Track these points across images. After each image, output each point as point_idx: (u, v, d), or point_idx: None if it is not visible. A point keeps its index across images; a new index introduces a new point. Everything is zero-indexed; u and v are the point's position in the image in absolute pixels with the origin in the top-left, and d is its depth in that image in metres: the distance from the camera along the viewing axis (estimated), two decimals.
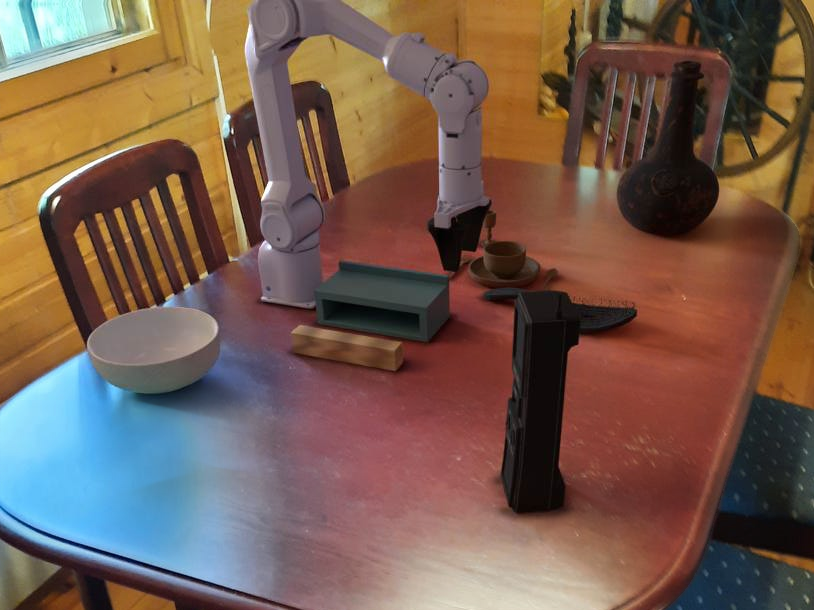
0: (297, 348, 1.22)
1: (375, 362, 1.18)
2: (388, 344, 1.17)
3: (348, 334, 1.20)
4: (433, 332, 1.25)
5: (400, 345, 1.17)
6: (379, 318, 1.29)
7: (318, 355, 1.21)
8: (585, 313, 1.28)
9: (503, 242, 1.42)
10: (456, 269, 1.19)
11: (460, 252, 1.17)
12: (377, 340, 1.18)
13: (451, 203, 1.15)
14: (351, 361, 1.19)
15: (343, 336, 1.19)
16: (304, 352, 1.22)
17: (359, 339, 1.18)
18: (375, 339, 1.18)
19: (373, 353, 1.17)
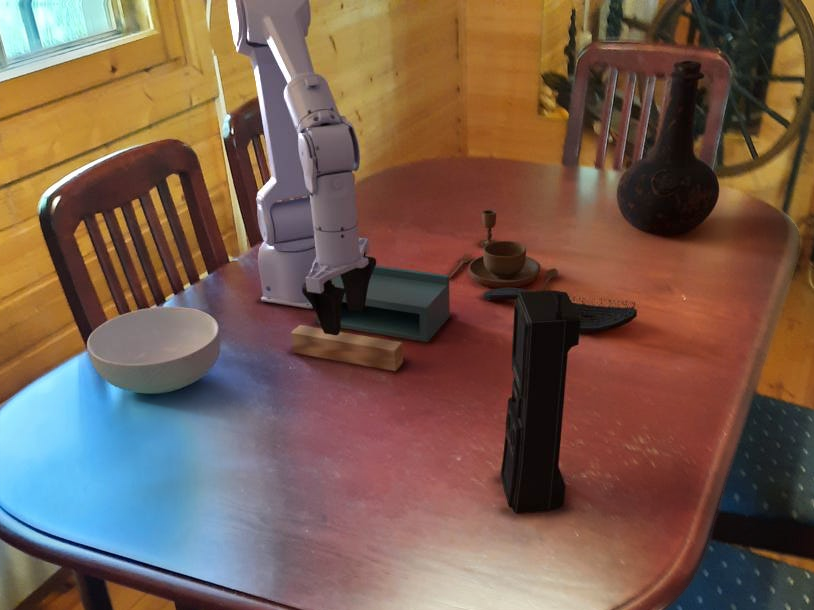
0: (297, 348, 1.22)
1: (375, 362, 1.18)
2: (388, 344, 1.17)
3: (348, 334, 1.20)
4: (433, 332, 1.25)
5: (400, 345, 1.17)
6: (379, 318, 1.29)
7: (318, 355, 1.21)
8: (585, 313, 1.28)
9: (503, 242, 1.42)
10: (336, 332, 1.14)
11: (338, 315, 1.12)
12: (377, 340, 1.18)
13: (326, 266, 1.10)
14: (351, 361, 1.19)
15: (343, 336, 1.19)
16: (304, 352, 1.22)
17: (359, 339, 1.18)
18: (375, 339, 1.18)
19: (373, 353, 1.17)
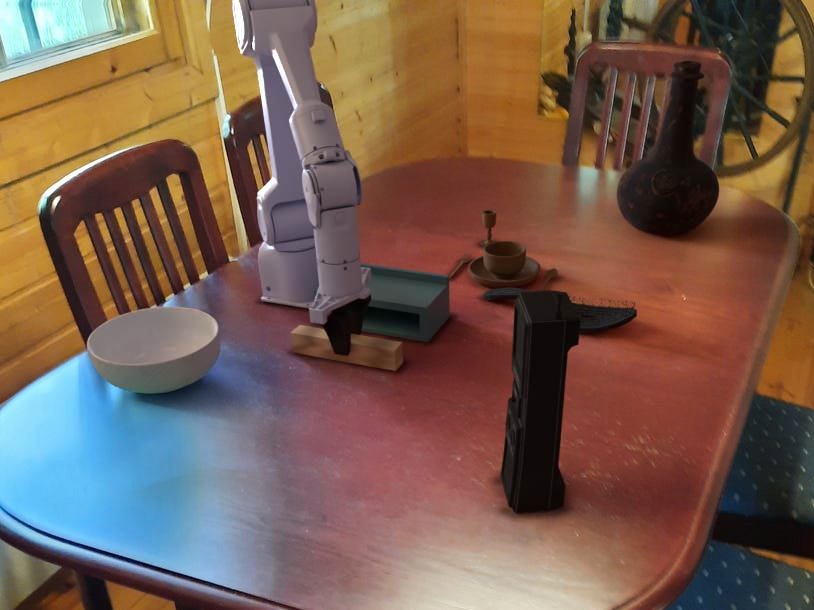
0: (297, 348, 1.22)
1: (375, 362, 1.18)
2: (388, 344, 1.17)
3: None
4: (433, 332, 1.25)
5: (400, 345, 1.17)
6: (379, 318, 1.29)
7: (318, 355, 1.21)
8: (585, 313, 1.28)
9: (503, 242, 1.42)
10: (346, 353, 1.18)
11: (348, 337, 1.16)
12: (377, 340, 1.18)
13: (329, 296, 1.12)
14: (351, 361, 1.19)
15: None
16: (304, 352, 1.22)
17: (359, 339, 1.18)
18: (375, 339, 1.18)
19: (373, 353, 1.17)
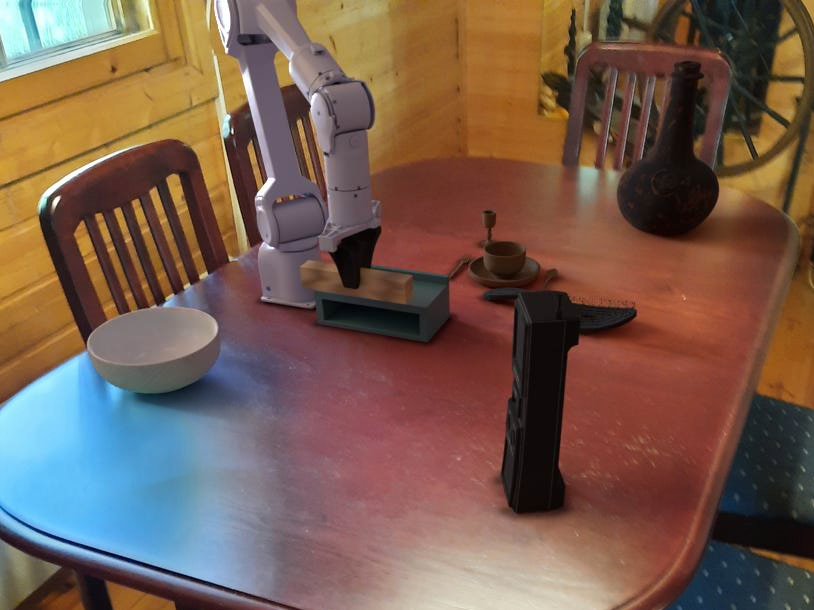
0: (306, 282, 1.20)
1: (385, 295, 1.16)
2: (398, 277, 1.16)
3: None
4: (433, 332, 1.25)
5: (410, 278, 1.16)
6: (379, 318, 1.29)
7: (327, 290, 1.20)
8: (585, 313, 1.28)
9: (503, 242, 1.42)
10: (356, 286, 1.17)
11: (358, 269, 1.15)
12: (387, 273, 1.17)
13: (339, 225, 1.11)
14: (361, 295, 1.18)
15: None
16: (313, 287, 1.20)
17: (369, 272, 1.17)
18: (386, 272, 1.17)
19: (383, 285, 1.16)
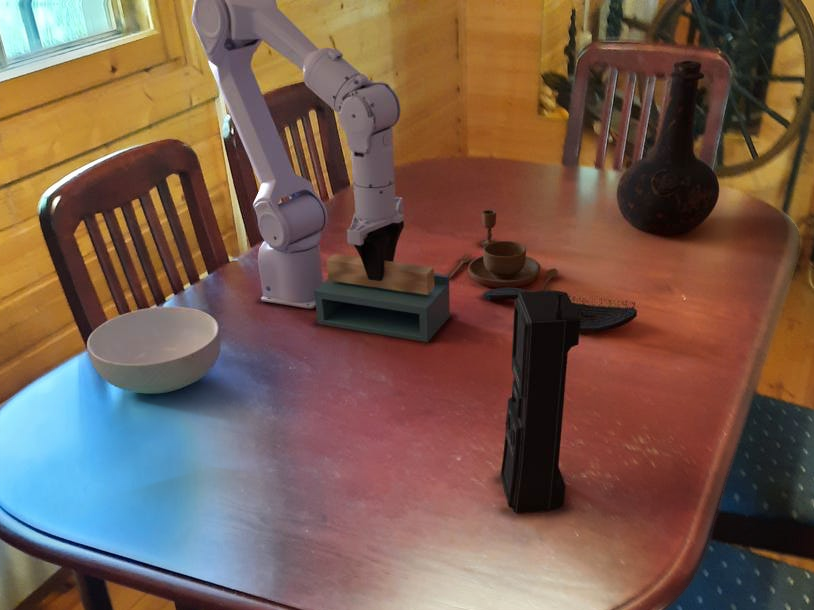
0: (332, 275, 1.27)
1: (408, 287, 1.23)
2: (420, 269, 1.22)
3: None
4: (433, 332, 1.25)
5: (432, 270, 1.22)
6: (379, 318, 1.29)
7: (352, 282, 1.26)
8: (585, 313, 1.28)
9: (503, 242, 1.42)
10: (380, 278, 1.23)
11: (382, 262, 1.22)
12: (410, 266, 1.23)
13: (365, 220, 1.17)
14: (384, 286, 1.25)
15: None
16: (339, 279, 1.27)
17: (392, 265, 1.24)
18: (408, 265, 1.23)
19: (406, 277, 1.22)
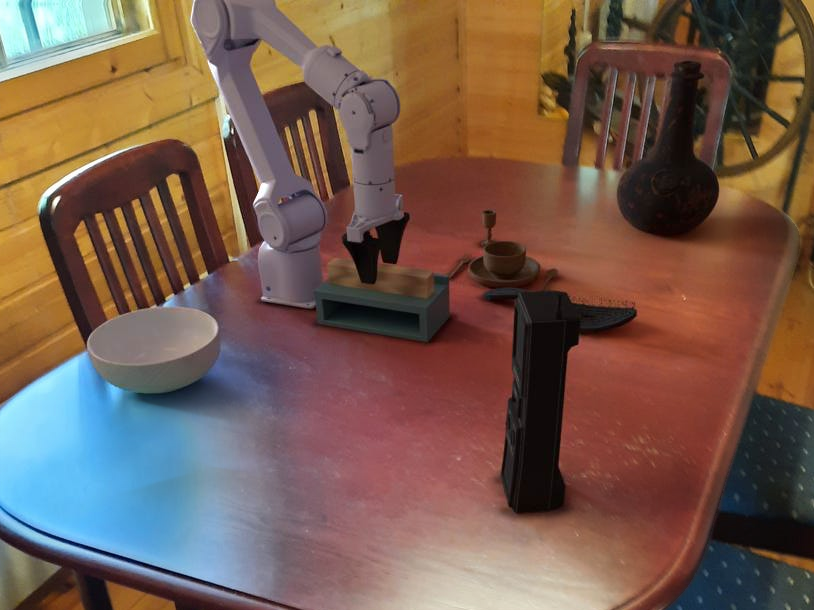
0: (332, 279, 1.27)
1: (408, 290, 1.23)
2: (420, 272, 1.23)
3: (382, 264, 1.25)
4: (433, 332, 1.25)
5: (432, 274, 1.23)
6: (379, 318, 1.29)
7: (352, 286, 1.27)
8: (585, 313, 1.28)
9: (503, 242, 1.42)
10: (373, 281, 1.21)
11: (375, 265, 1.20)
12: (410, 269, 1.24)
13: (365, 217, 1.17)
14: (385, 290, 1.25)
15: None
16: (339, 283, 1.27)
17: (392, 269, 1.24)
18: (408, 268, 1.24)
19: (406, 281, 1.23)
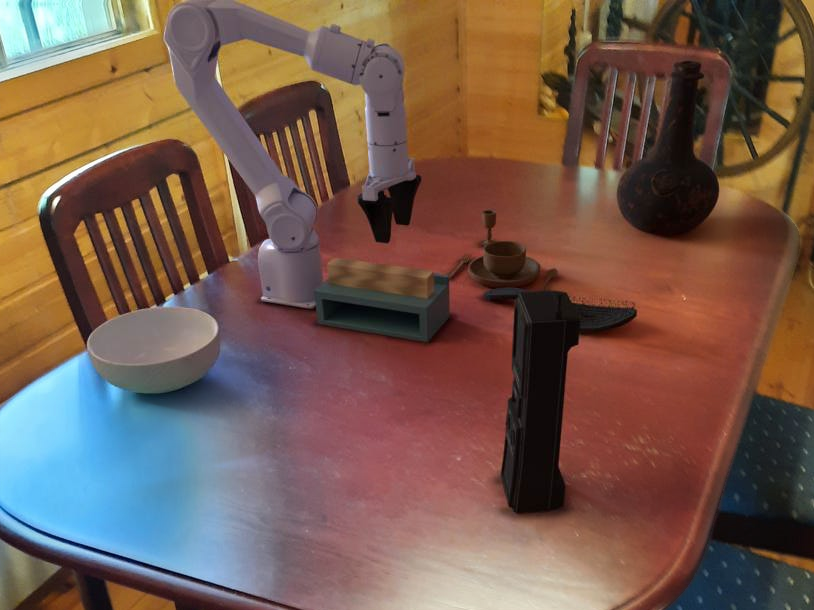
0: (332, 279, 1.27)
1: (408, 290, 1.23)
2: (420, 272, 1.23)
3: (382, 264, 1.25)
4: (433, 332, 1.25)
5: (432, 274, 1.23)
6: (379, 318, 1.29)
7: (352, 286, 1.27)
8: (585, 313, 1.28)
9: (503, 242, 1.42)
10: (387, 240, 1.27)
11: (389, 224, 1.25)
12: (410, 269, 1.24)
13: (379, 178, 1.23)
14: (385, 290, 1.25)
15: (377, 266, 1.25)
16: (339, 283, 1.27)
17: (392, 269, 1.24)
18: (408, 268, 1.24)
19: (406, 281, 1.23)
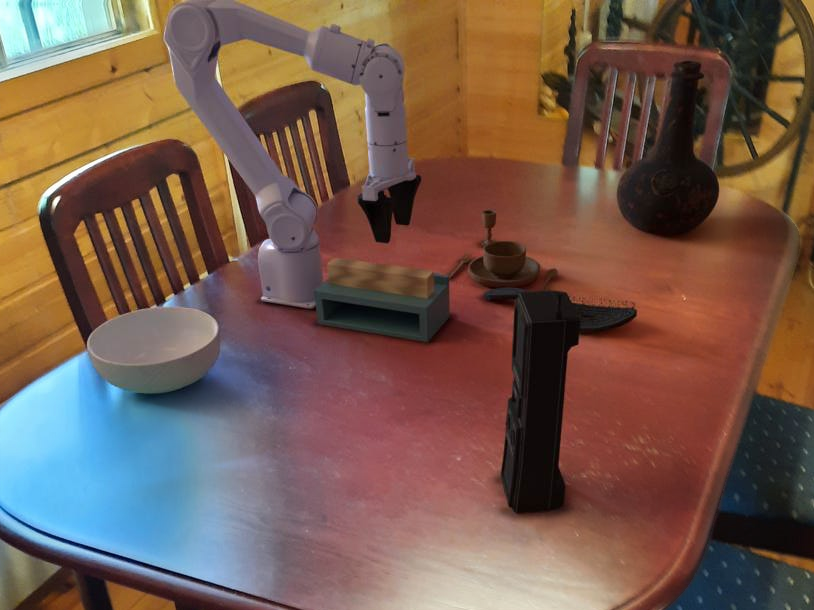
0: (332, 279, 1.27)
1: (408, 290, 1.23)
2: (420, 272, 1.23)
3: (382, 264, 1.25)
4: (433, 332, 1.25)
5: (432, 274, 1.23)
6: (379, 318, 1.29)
7: (352, 286, 1.27)
8: (585, 313, 1.28)
9: (503, 242, 1.42)
10: (387, 240, 1.27)
11: (389, 224, 1.25)
12: (410, 269, 1.24)
13: (379, 178, 1.23)
14: (385, 290, 1.25)
15: (377, 266, 1.25)
16: (339, 283, 1.27)
17: (392, 269, 1.24)
18: (408, 268, 1.24)
19: (406, 281, 1.23)
